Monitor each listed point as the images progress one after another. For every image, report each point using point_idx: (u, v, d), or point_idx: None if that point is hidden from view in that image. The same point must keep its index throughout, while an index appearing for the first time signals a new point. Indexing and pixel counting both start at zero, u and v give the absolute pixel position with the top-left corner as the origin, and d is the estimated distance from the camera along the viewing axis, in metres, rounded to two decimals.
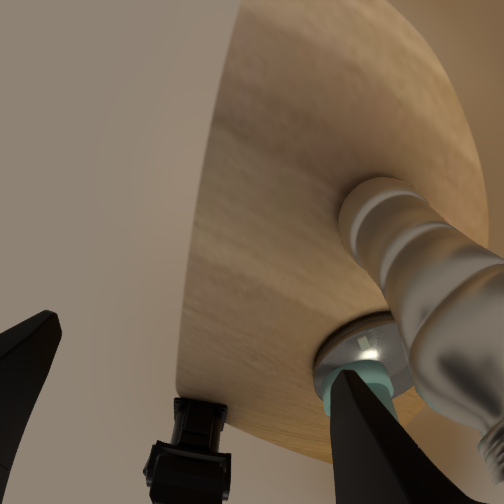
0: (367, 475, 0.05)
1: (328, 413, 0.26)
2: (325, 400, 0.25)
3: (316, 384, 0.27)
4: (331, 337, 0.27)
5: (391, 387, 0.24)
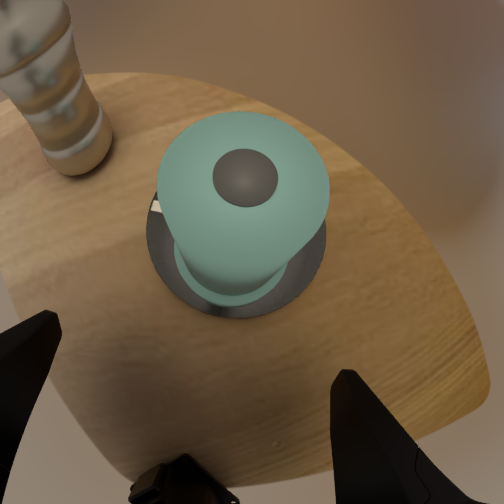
0: (367, 475, 0.05)
1: (222, 299, 0.17)
2: (188, 284, 0.18)
3: (189, 300, 0.20)
4: None
5: None
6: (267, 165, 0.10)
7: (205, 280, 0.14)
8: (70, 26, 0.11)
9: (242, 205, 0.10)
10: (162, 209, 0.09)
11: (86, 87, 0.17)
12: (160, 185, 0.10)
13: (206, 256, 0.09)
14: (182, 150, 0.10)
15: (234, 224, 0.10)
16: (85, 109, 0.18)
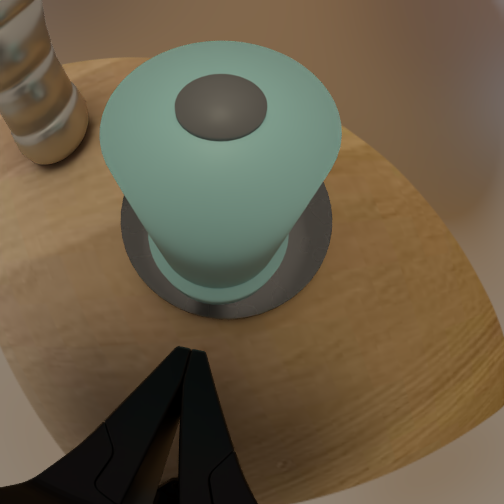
0: None
1: (206, 293, 0.14)
2: (165, 276, 0.14)
3: (170, 298, 0.16)
4: None
5: None
6: (251, 91, 0.07)
7: (179, 265, 0.11)
8: None
9: (216, 138, 0.06)
10: (103, 151, 0.06)
11: (57, 64, 0.14)
12: (105, 123, 0.06)
13: (160, 211, 0.06)
14: (138, 82, 0.07)
15: (203, 164, 0.06)
16: (55, 88, 0.14)
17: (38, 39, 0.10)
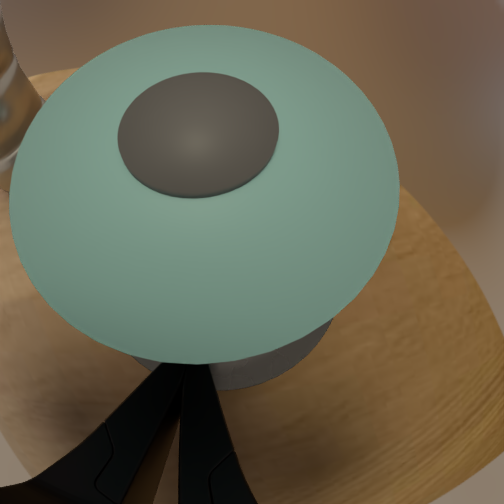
0: None
1: None
2: None
3: (152, 366, 0.13)
4: None
5: None
6: (252, 101, 0.04)
7: None
8: None
9: (184, 194, 0.03)
10: (11, 214, 0.03)
11: (21, 79, 0.11)
12: (19, 163, 0.03)
13: (89, 334, 0.03)
14: (75, 92, 0.04)
15: (158, 246, 0.03)
16: (18, 107, 0.11)
17: None
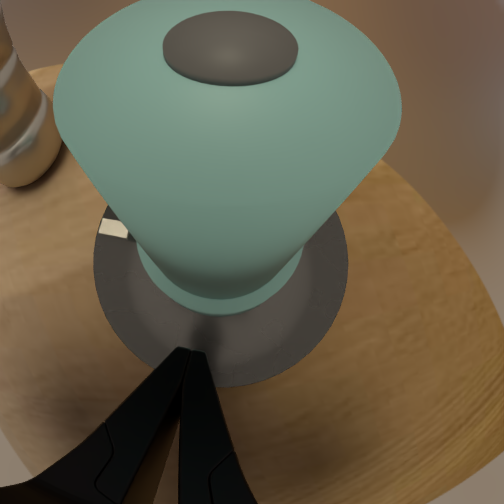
0: None
1: (204, 305, 0.11)
2: (155, 282, 0.12)
3: (153, 362, 0.13)
4: None
5: None
6: (274, 30, 0.04)
7: (169, 272, 0.08)
8: None
9: (223, 79, 0.04)
10: (55, 105, 0.03)
11: (21, 72, 0.10)
12: (65, 71, 0.04)
13: (124, 189, 0.03)
14: (118, 24, 0.04)
15: (200, 116, 0.04)
16: (18, 100, 0.11)
17: None
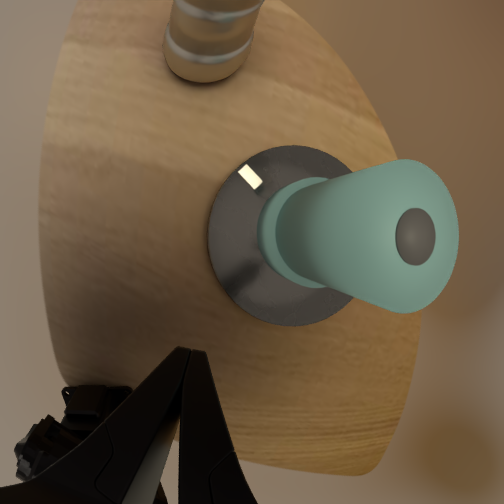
0: None
1: (285, 270, 0.18)
2: (266, 239, 0.18)
3: (221, 275, 0.20)
4: None
5: None
6: (431, 238, 0.10)
7: (301, 260, 0.15)
8: None
9: (404, 259, 0.10)
10: (355, 219, 0.10)
11: (258, 12, 0.14)
12: (364, 196, 0.10)
13: (360, 280, 0.10)
14: (392, 177, 0.10)
15: (390, 269, 0.10)
16: (241, 32, 0.15)
17: None
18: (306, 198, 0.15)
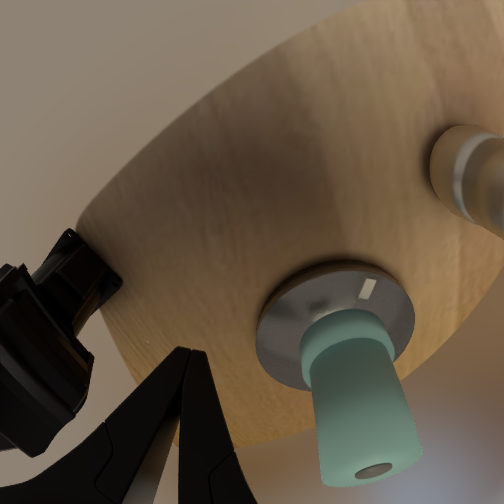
0: None
1: (307, 363, 0.20)
2: (324, 340, 0.19)
3: (272, 312, 0.21)
4: (325, 263, 0.21)
5: None
6: (376, 474, 0.13)
7: (323, 393, 0.16)
8: None
9: (356, 474, 0.12)
10: (367, 456, 0.11)
11: None
12: (384, 452, 0.11)
13: (331, 468, 0.12)
14: (404, 451, 0.11)
15: (346, 472, 0.12)
16: (497, 233, 0.13)
17: None
18: (371, 375, 0.16)
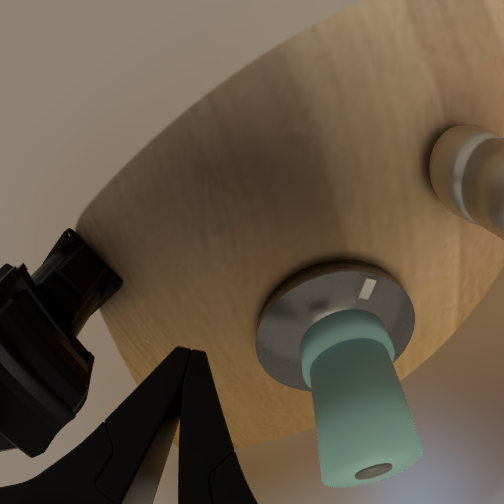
0: None
1: (307, 364, 0.20)
2: (324, 341, 0.19)
3: (272, 312, 0.21)
4: (325, 263, 0.21)
5: None
6: (376, 475, 0.13)
7: (324, 394, 0.16)
8: None
9: (356, 475, 0.12)
10: (368, 456, 0.11)
11: None
12: (385, 452, 0.11)
13: (332, 469, 0.12)
14: (404, 452, 0.11)
15: (347, 473, 0.12)
16: (497, 233, 0.13)
17: None
18: (371, 376, 0.16)
